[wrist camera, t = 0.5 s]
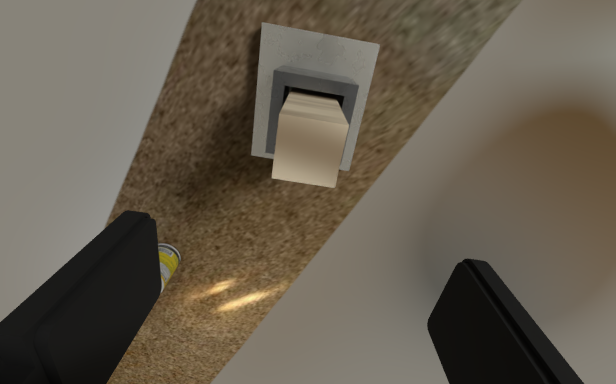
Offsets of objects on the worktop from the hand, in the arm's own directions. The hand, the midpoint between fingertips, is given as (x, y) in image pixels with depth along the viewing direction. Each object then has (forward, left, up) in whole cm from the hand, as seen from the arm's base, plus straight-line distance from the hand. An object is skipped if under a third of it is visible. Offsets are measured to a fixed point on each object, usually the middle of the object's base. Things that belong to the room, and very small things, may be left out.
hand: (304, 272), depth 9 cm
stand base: (-1, 0, -28) cm, 28 cm away
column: (-1, 0, -25) cm, 25 cm away
